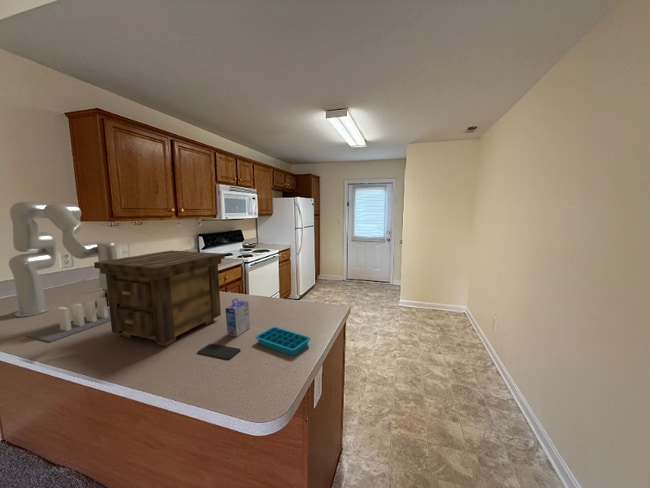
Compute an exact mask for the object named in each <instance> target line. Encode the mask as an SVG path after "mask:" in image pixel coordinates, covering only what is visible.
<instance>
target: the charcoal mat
mask: <svg viewBox="0 0 650 488" xmlns="http://www.w3.org/2000/svg"><path fill="white" fill-rule="evenodd" d="M107 310H108V317H106V318H102V317H98V312H96V317H97V321H95V322H90V321H86V316H84V323H85V325H83V326H77V325H74V323H73V320H70V322H71V330H68V331H65V330H61V329H60V325H59V324H57V325H55V326H51V327H48V328H46V329H42V330H39V331H35V332H32V333H29V334H27V335H26V337H28V338H32V339H36V340H39V341H44V342H47V343H52V342H56V341H59V340H61V339H65V338H67V337H71V336H72V335H77V334H78V333H82V332H83V331H86V330H89V329H92V328H95V327H97V326H98V327H99V326H101V325H104V324H106V323H109V322H111V318H110V309H108V308H107Z"/></svg>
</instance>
